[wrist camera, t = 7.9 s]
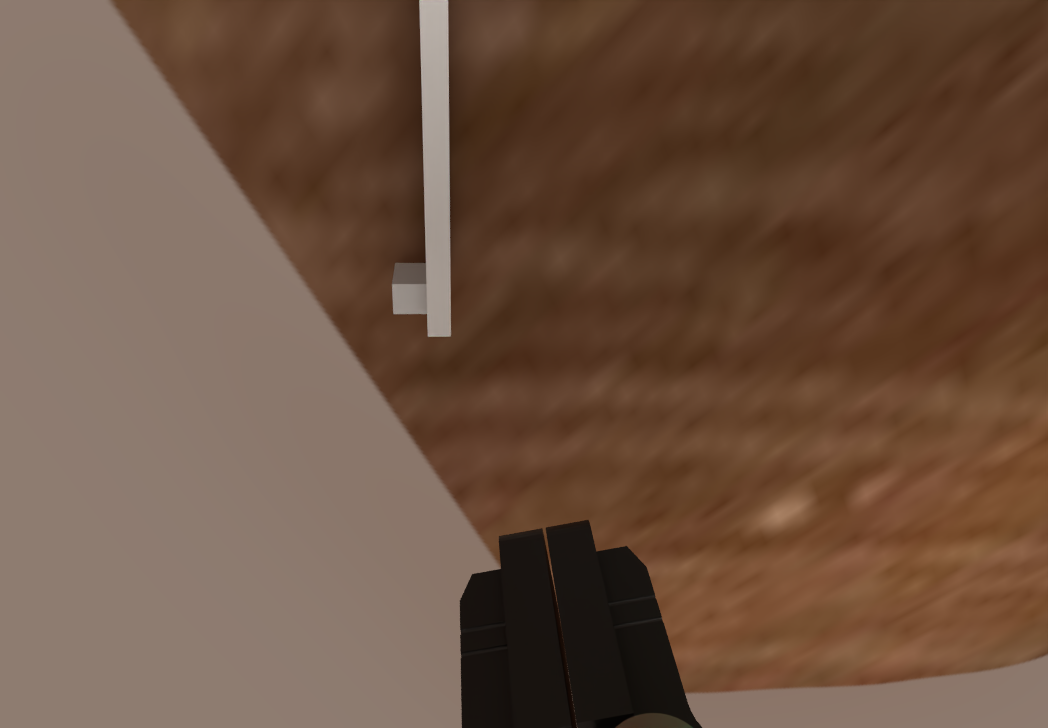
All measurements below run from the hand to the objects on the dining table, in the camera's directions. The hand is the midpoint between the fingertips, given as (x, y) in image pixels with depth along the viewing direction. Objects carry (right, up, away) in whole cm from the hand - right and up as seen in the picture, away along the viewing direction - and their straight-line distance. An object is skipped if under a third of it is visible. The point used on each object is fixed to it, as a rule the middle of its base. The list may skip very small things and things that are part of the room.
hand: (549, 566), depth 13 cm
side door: (-4, +13, +16) cm, 21 cm away
